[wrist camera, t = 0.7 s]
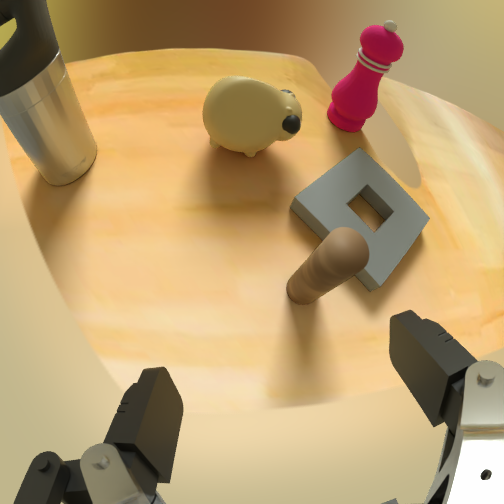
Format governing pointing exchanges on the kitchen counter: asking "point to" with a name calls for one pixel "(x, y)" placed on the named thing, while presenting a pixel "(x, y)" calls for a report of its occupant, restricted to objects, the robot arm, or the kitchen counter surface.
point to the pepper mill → (365, 77)
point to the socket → (341, 215)
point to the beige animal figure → (249, 114)
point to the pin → (329, 265)
